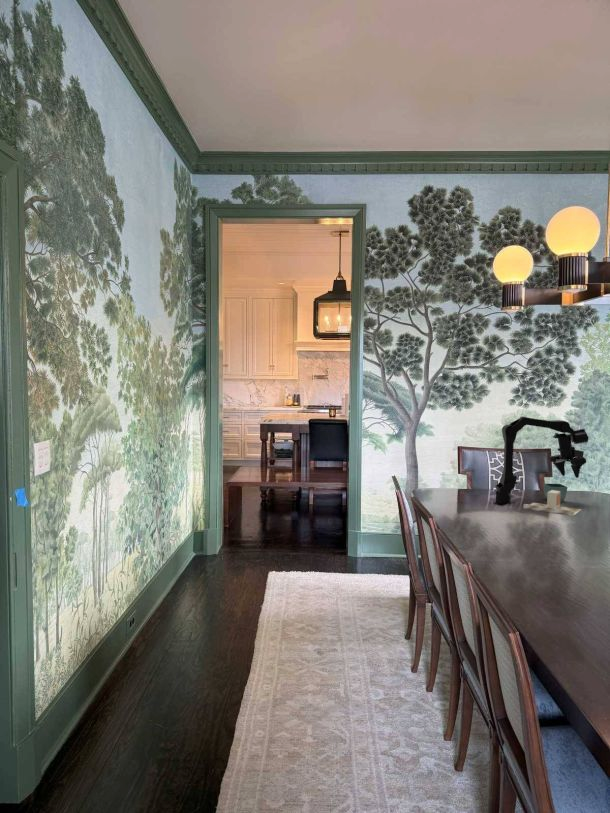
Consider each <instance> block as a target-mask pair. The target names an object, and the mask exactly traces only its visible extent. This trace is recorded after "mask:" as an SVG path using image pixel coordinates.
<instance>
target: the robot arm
mask: <svg viewBox="0 0 610 813" xmlns="http://www.w3.org/2000/svg"><path fill="white" fill-rule="evenodd" d="M526 426H532V427H538V428H546V429H549V430H553V431H556V432H555V434H553V436H552V438H553V439H557V441H558V443H557V444H558V448H557V451H559V454H555V455H551V456H550V458H549V460H550V463H552V464H553V465H554V466H555V467H556V469H557V470H558V471H559V473H560V474H561V475H562V476H563V477H565V476H566V468H565V464H566V462H569V463H570V464H571V465H570V467H571V470H572V472H573V474H574V477H575V479H579V476H580V471H581V468H582V466H584V465H585V464H586V463H587V458H586V457H584V453H585V452H584V451H583V450H578V449H576V448H575V447H574V446H573V444H574V445H577V444H586V443H588V442H589V436H588V434H587V431H586V429H585V428H580V429H576V430H574V429H573V428H572V427H571V425H570V423H569V422H568V421H566V420H561V419H560V420H558V419H557V420H547V419H540V418H539V419H538V418H532V417H527V416H520V417H519V418H518V419H516V420H514V421H512V422H510V423H509V424H505V425H504V426H502V427H501V433H502V439H503V444H504V445H503V446H504V448H503V449H504V450H503V451H504V452H503V471H502V473H501V476H500V481H499V482H498V483H497V484H496V485H495V489H496V492H495V502H494V504H495V505H497V506H498V505H499V506H506V505H509V504H512V497H513V496H512V495H511V494H512V490H513V489H515V488H516V485H518V483H517V478H518V477H517V475H516V474H514V470H513V469H514V444H515V441H516V438H517V434H518V432H520V431H521V430H522V429H523V428H524V427H526ZM558 432H560V433H558Z"/></svg>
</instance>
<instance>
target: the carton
mask: <svg viewBox="0 0 610 813" xmlns="http://www.w3.org/2000/svg"><path fill="white" fill-rule="evenodd" d="M560 497H561V493H560V491H556V490H551V491H549V492H548V493H547V499H546V500H547V501H546V504H547V507H549V508H556V509H558V508H560V506H561V502H560Z"/></svg>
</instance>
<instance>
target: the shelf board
mask: <svg viewBox="0 0 610 813" xmlns="http://www.w3.org/2000/svg"><path fill="white" fill-rule="evenodd" d="M523 509H525V510H531V511H538V512H543V513H544V512H545V513H550V514H557V515H564V516H570V517H574V516H576V515H577V514H578V513H579V512H580V511H582V509H580V508H573V507H566V506H561V505H560V508H558V509H556V508H549V507H547V503H546V504H545V503H541V502H540V503H539V502H531V503H530V504H527V503H523Z"/></svg>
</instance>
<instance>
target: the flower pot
mask: <svg viewBox="0 0 610 813" xmlns="http://www.w3.org/2000/svg"><path fill="white" fill-rule="evenodd" d="M542 484H543V494H544V496H545V499H546V500H547V493H548V492H549V491H551V490H556V491H560V493H561V497H560V503H563V502H564V501H565V499H566V497H567V492H568V486H566V485H564V484H562V483H542Z"/></svg>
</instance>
